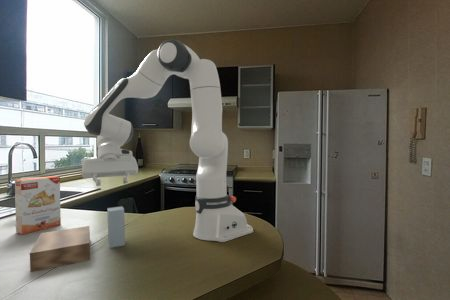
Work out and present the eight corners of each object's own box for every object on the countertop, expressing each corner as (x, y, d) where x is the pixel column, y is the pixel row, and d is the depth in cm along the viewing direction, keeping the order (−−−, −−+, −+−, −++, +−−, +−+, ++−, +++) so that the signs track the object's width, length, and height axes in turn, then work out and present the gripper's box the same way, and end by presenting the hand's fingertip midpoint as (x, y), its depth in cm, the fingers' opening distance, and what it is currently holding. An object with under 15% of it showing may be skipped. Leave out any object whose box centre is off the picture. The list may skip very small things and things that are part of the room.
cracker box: (22, 235, 96) (20, 180, 96) (15, 232, 99) (13, 179, 99) (61, 225, 108) (60, 176, 108) (54, 223, 111) (53, 175, 111)
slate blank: (123, 240, 89) (122, 206, 89) (125, 245, 85) (124, 209, 85) (108, 243, 87) (107, 208, 87) (109, 248, 83) (108, 211, 82)
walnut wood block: (89, 239, 90) (89, 225, 90) (89, 259, 74) (89, 242, 74) (41, 248, 83) (41, 233, 83) (30, 272, 68) (29, 253, 67)
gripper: (80, 152, 98) (80, 180, 90) (135, 151, 108) (140, 176, 99) (81, 163, 102) (81, 191, 94) (134, 161, 112) (139, 186, 103)
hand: (112, 183), depth 96 cm, fingers open, 8 cm apart
